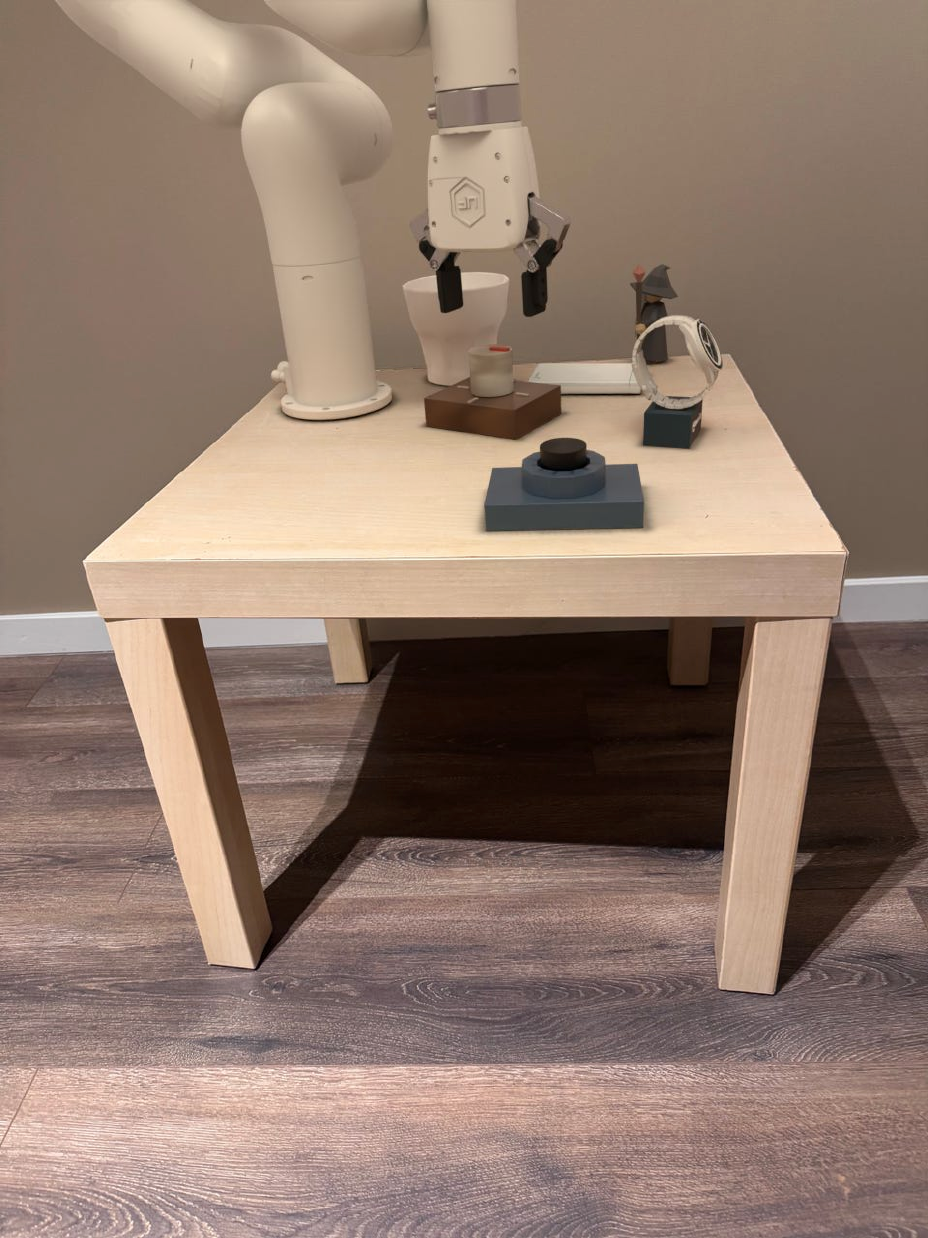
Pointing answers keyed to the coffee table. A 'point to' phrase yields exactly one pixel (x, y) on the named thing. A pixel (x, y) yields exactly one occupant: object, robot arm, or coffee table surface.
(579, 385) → the hard drive
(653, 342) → the wizard figurine
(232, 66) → the robot arm
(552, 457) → the button
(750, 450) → the coffee table surface
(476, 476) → the coffee table surface
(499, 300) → the cup
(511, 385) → the knob
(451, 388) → the brown wooden block
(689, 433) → the watch
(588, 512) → the button box
